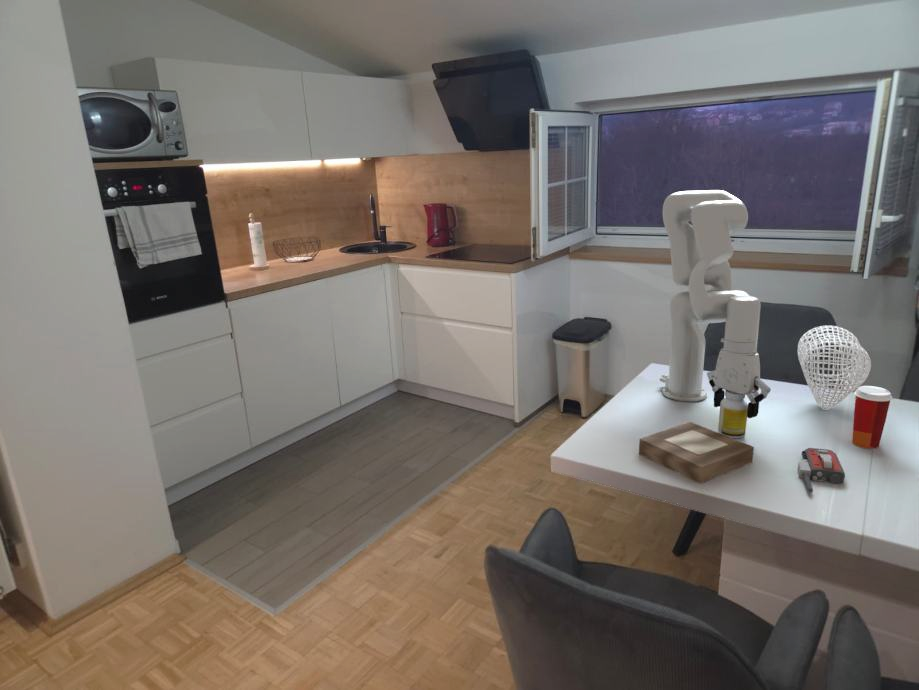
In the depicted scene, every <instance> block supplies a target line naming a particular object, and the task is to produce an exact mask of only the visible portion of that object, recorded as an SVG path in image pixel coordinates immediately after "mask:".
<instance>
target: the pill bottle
mask: <svg viewBox="0 0 919 690" xmlns="http://www.w3.org/2000/svg"><path fill="white" fill-rule="evenodd" d="M724 392H725V394H724V399H723V400H722V401H721V403H720V406H719V416H718V427H717V428H718V429H717V430H718V431H717V432H718V433H720V434H722V435H725V436H727V437H730V438H733V439H740V438H743V437H744V436H745V435H746V430H747V421H748V417H747V411H748V402H747V401H746V400H745V398H746V395H742V394H738V393H735V392H732V391H728V390H724Z"/></svg>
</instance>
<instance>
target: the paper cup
mask: <svg viewBox="0 0 919 690" xmlns="http://www.w3.org/2000/svg"><path fill="white" fill-rule="evenodd" d="M853 392H854V393H853V394H854V396H855V398H854V400H855V401H854V411H853V421H852V422H853V426H852V435H851V436H852V437H851V438H852V439H851V440H852V441H851V442H852V444H853V445H854V446H855V447H858V448H862V449H869V450H875V449H878V448H879V447H880V444H881V440H882V437H883V433H884V428H885V424H886V420H887V415H888V412H889V407H890V404H891V401H892V400H893V396H892V392H890V391H889V390H888V389H887V388H883V387H880V386H874V385H860V386H859V387H858V388H857V389H856V390H854V391H853Z"/></svg>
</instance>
